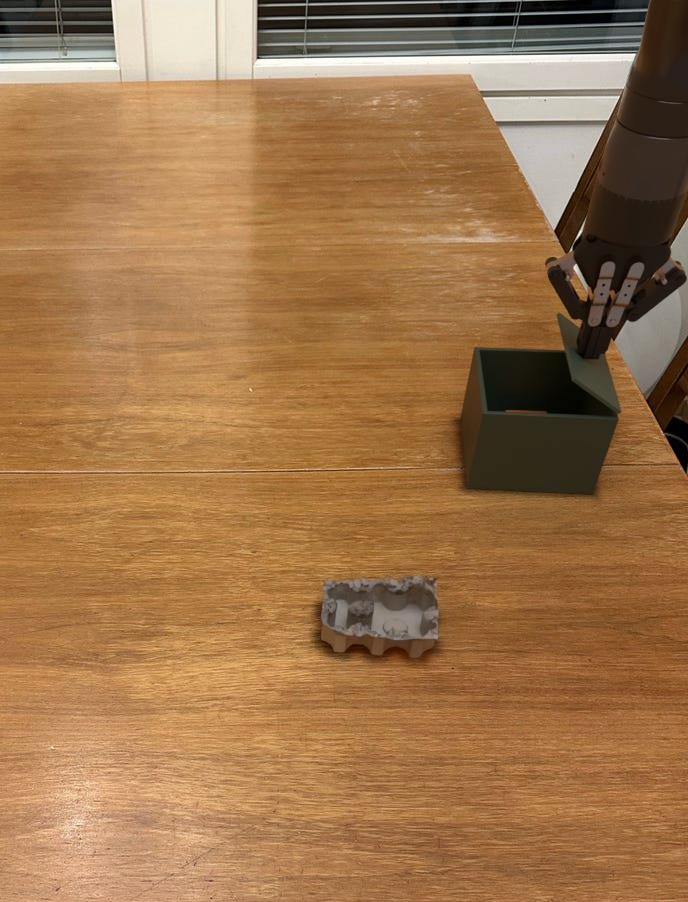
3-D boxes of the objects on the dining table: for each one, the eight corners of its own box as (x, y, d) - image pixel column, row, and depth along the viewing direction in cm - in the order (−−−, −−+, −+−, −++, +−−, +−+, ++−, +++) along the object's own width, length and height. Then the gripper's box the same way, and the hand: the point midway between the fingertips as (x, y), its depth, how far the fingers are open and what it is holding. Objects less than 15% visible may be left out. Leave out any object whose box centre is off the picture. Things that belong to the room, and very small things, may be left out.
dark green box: (577, 425, 110) (600, 351, 103) (592, 494, 102) (619, 419, 95) (459, 420, 111) (474, 346, 104) (466, 488, 103) (483, 413, 96)
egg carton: (435, 606, 92) (442, 575, 89) (433, 666, 87) (441, 635, 84) (322, 593, 94) (325, 562, 91) (314, 652, 89) (317, 621, 86)
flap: (599, 347, 103) (602, 344, 102) (618, 414, 95) (621, 411, 95) (556, 314, 100) (559, 312, 100) (571, 381, 93) (575, 378, 92)
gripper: (570, 194, 82) (524, 373, 95) (734, 198, 81) (665, 379, 94) (559, 157, 87) (517, 332, 100) (713, 160, 86) (650, 337, 99)
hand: (589, 354), depth 97 cm, fingers closed
